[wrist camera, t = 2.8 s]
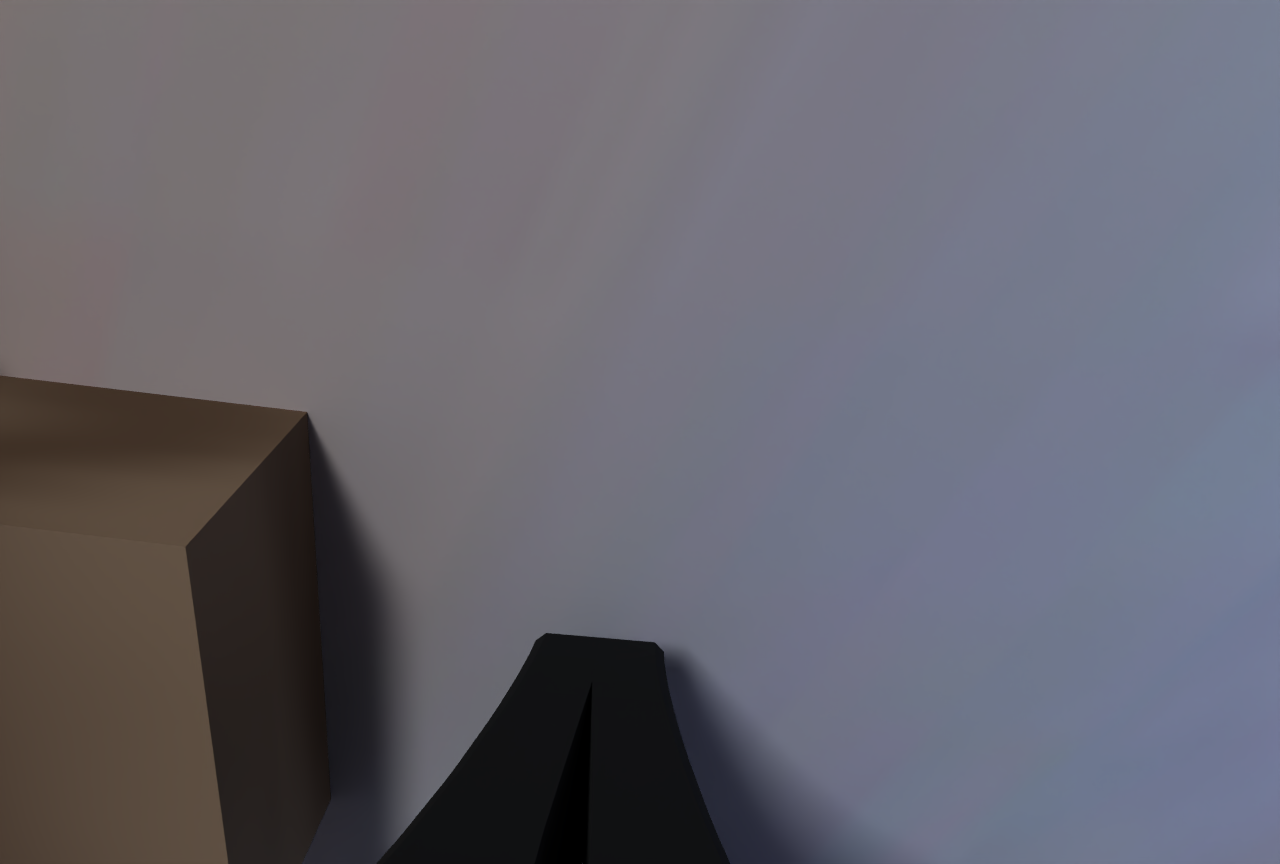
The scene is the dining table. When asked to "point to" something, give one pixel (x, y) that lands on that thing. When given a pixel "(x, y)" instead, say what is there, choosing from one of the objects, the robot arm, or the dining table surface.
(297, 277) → the dining table surface
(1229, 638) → the dining table surface
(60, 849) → the walnut block
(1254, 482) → the dining table surface
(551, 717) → the robot arm
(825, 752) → the dining table surface
